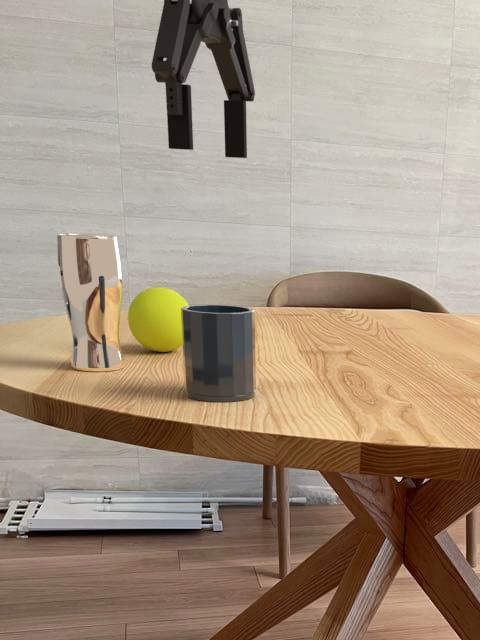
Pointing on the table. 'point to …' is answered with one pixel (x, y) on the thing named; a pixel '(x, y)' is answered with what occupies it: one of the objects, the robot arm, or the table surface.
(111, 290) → the beer glass
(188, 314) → the cup
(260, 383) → the table surface
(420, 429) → the table surface
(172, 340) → the ball
